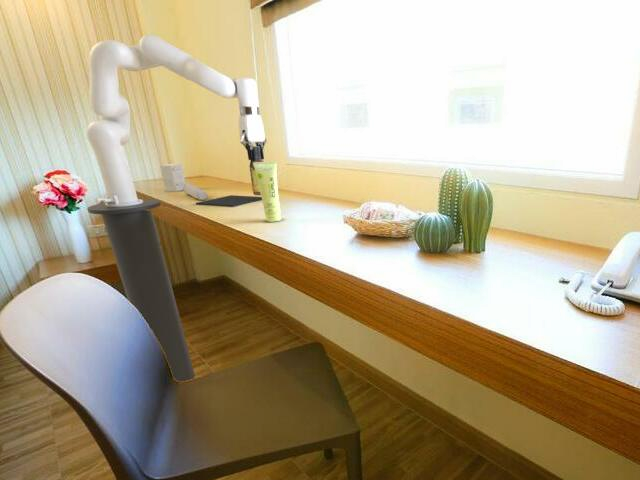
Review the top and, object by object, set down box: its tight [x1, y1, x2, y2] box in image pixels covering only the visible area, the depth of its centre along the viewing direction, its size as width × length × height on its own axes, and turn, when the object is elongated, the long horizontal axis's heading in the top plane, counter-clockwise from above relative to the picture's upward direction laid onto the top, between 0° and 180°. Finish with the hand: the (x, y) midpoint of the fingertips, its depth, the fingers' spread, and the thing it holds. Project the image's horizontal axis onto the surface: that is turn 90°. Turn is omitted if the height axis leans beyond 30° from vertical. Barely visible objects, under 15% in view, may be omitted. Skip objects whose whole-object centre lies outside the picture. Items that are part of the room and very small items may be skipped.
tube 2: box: [253, 160, 282, 223], centre depth 131 cm, size 6×5×20 cm
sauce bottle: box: [248, 145, 264, 196], centre depth 166 cm, size 6×6×20 cm
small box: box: [159, 163, 187, 193], centre depth 203 cm, size 8×6×13 cm
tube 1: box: [182, 183, 208, 201], centre depth 182 cm, size 5×5×25 cm
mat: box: [195, 194, 262, 208], centre depth 171 cm, size 20×20×1 cm
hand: (256, 159), depth 164 cm, fingers closed on sauce bottle, 4 cm apart
